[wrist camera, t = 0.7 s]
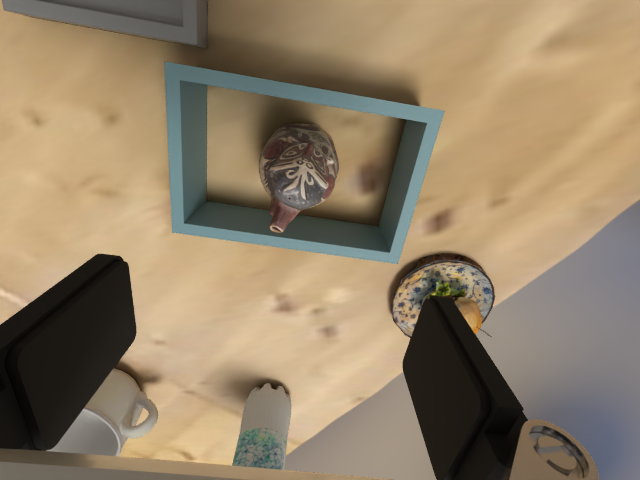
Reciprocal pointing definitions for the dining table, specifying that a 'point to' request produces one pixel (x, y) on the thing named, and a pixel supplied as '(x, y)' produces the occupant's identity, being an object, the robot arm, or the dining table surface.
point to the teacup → (109, 418)
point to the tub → (253, 224)
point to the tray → (126, 17)
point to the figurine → (297, 171)
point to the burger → (444, 290)
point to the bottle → (264, 429)
